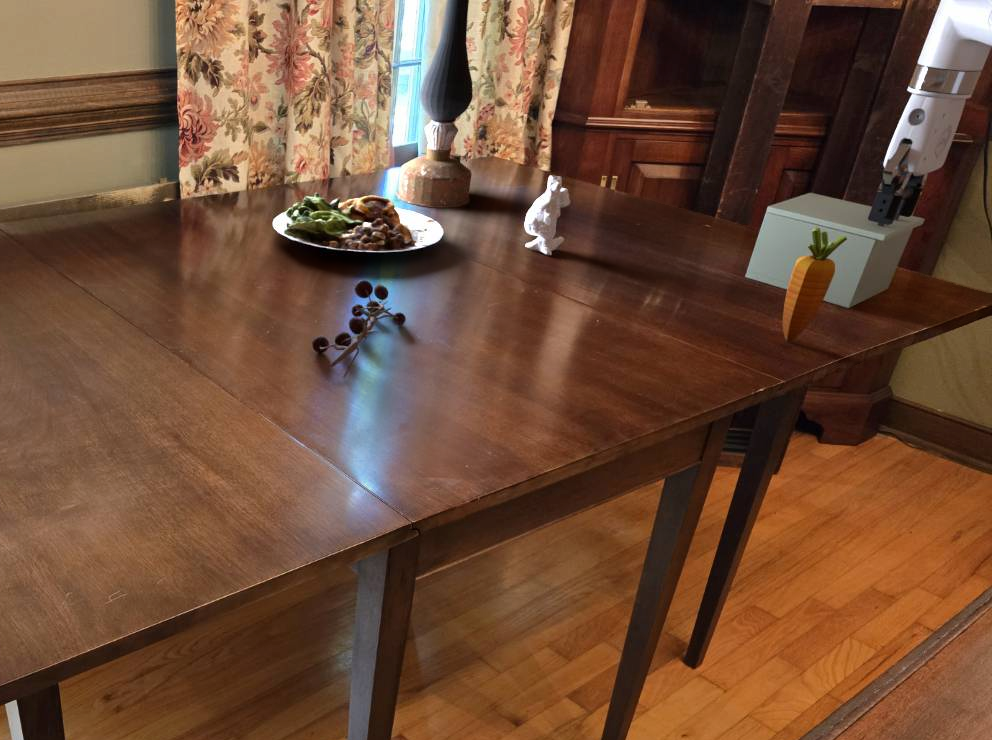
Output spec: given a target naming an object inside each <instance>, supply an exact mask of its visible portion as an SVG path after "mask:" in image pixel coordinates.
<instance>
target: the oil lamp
mask: <svg viewBox="0 0 992 740" xmlns="http://www.w3.org/2000/svg"><path fill="white" fill-rule="evenodd" d="M469 4H470V0H446V7H445V13H444V19H443V23H442V28H441V33H440V37H439V41H438V44H437V46H436V49H435V52H434V54H433V57H432V60H431V62H430V65H429V67H428V68H427V71H426V72H425V75H424V77H423V80H422V82H421V85H420V89H419V95H418V96H419V101H420V105H421V108H423V110H424V112H425V113H426V114H427V115H428V117H429V119H430V122H429V123H428V124H427V125H425V127H424V131H425V135H426V139H427V142H428V143H427V146H426V152H422V151H421V152H420V154H421V155H420V156H417V157H415V158H413V159H411V160H409V161H408V162H407V161H406V162H405V163H404V164H403V165H401V167H400V174H399V184H398V190H397V191H396V197H397V198H398V199H399V200H401V201H403V202H405V203H408V204H411V205H415V206H420V207H425V208H426V207H427V208H437V209H438V208H439V209H440V208H441V209H443V208H446V209H447V208H457V207H461V206H464V205H467V204H468V203H469V201H470V196H469V194H470V187H471V183H472V182H471V181H472V171H471V169H470V168H468V166H466V165H464V164H463V163H462V162H461V161H462V158H463V159H465V162H468V160H469V159H468V157H469V152H466V154H465V155H461V154H459V153H451V151H452V144H453V142H454V140H455V138H456V136H457V134H458V132H459V128H458V127H457V126H456V124H455V123H454V122H456V121H457V119H458V118H459V117H460V116H462V115H463V114H464V113H465V112H466V111H467V110H468V108H469V107H470V105H471V103H472V101H473V97H474V95H473V94H474V92H473V89H474V88H473V78H472V75H471V70H470V63H469V57H468V56H469V55H468V47H467V35H468V34H467V32H468V16H469V14H468V13H469Z"/></svg>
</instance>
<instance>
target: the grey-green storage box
mask: <svg viewBox="0 0 992 740" xmlns="http://www.w3.org/2000/svg"><path fill="white" fill-rule="evenodd" d="M815 228H820V231H821V233H822V232H827V236H828V244H830V243H831V242H833V243H834V242H835V240H837V239H838V238H839V237H841V236H842V235H844V236H846V238H847V240H846V241H845V242H843V243H842V244H841V245H840V246H838V247H837V248H836V249H835V250H834V251H833V252H832V253H831V254H830V255H829V256H828V257H827V258H828V259H831V260H832V261H834V263H835V273H834V276H833V278H832V281H831V283H830V286H829V288H828V290H827V293H826V295H825V297H824V299H823V302H827V303H829V304H834V305H836V306H839V307H842V308H846V309H850V308H852V307H854V306H856V305H858V304H860V303H861V302H862V303H863V302H864V301H866V300H869V299H870V298H873V297H874V296H876V295H878V294H881V293H882V292H884V291H887V290H888V289H889V287H890V285H891V282H892V280H893V278H894V276H895V273H896V271H897V268H898V265H899V263H900V261H901V258H902V256H903V253H904V251H905V249H906V246H907V244H908V242H909V239H910V236H911V235H912V232H913V229H914V228H912V229H910V230H908V231H905V232H903V233H901V234H898V235H896V236H894V237H891V238H889V239H887V240H884V241H882V240H878V239H874V238H870V237H866V236H862V235H858V234H854V233H850V232H846V231H842V230H838V229H834V228H830V227H826V226H822V225H818V224H814V223H810V222H806V221H801V220H797V219H793V218H789V217H785V216H781V215H777V214H773V213H769V212H766V211H765V214H764V217H763V221H762V224H761V227H760V229H759V231H758V236H757V238H756V241H755V245H754V248H753V251H752V254H751V257H750V260H749V263H748V266H747V269H746V274H745V276H744V277H745V278H747V279H750V280H754V281H757V282H759V283H764V284H767V285H770V286H773V287H776V288H780V289H783V290H787V289H788V286H789V282H790V279H791V276H792V273H793V270H794V267H795V264H796V261H797V260H798V258H800V257H802V256H806V255H813V254H812V252H811V251H810V249H809V248H808V245H809V244H812V245H814V244H813V237H812V231H813V230H814V229H815ZM821 246H822V236H821Z"/></svg>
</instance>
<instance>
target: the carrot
mask: <svg viewBox="0 0 992 740" xmlns="http://www.w3.org/2000/svg"><path fill="white" fill-rule="evenodd" d="M821 236H822V246H821ZM812 237H813V244H814V245H812V244H809V245H808V248H809V249H810V251H811V252H812V254H813V255H806V256H802V257H800V258H798V260H797V261H796V264H795V267H794V270H793V273H792V276H791V279H790V282H789V286H788V289H786V294H785V298H784V299H785V300H784V304H783V311H782V332H783V338H784V339H785V341H786V342H787V343H789V342H791V341H793V340H795V339H796V338H797V337H798V336H799V335H800V334H802V333H803V331H804V330H805V329H806V328H807V327H808V326H809V325H810V324H811V322H812V320H813V319H814V317H815V316H816V314H817V313H818V311H819V309H820V307H821V305H822V304H823V302H824V301H823V299H824V297H825V295H826V293H827V290H828V288H829V286H830V283H831V281H832V278H833V276H834V273H835V263H834V261H832V260H831V259H828V258H827V257H828V256H829V255H830V254H831V253H832V252H833V251H834V250H835V249H836V248H837V247H838V246H840V245H841V244H842V243H843V242H845V241H846V240H847V238H846V236H844V235H842V236H841V237H839V238H838V239H837V240H835V242H834V243H833V242H831V243H830V244H828V236H827V232H822V233H821V231H820V228H815V229H814V230H813V231H812Z"/></svg>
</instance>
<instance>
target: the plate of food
mask: <svg viewBox="0 0 992 740" xmlns="http://www.w3.org/2000/svg"><path fill="white" fill-rule="evenodd" d="M340 201H341V198H340V197H338V198H336V199H332V201H330V202H328V201H326V199H325V198H324V197H321V196H320V194H319V192H315V193H314V196H304V198H303V200H302V202H301V201H299V202H294V203H293V205H292V207H289V208H288V209H287V210H285V211H283V212H281V213H280V214H279V215H277V216H276V217H275V218H273V221H272V227H273V229H274V230H275V231H276V232H277V233H278V234H280V235H282V236H284V237H286V238H287V239H290V240H292V241H294V242H298V243H302V244H306V245H311V246H314V247H317V248H326V249H327V250H329V251H331V250H332V251H351V252H352V251H353V252H363V253H364V252H366V253H393V252H405V251H411V250H419V249H421V248H426V247H427V246H431V245H433V244H436V243H438V242H439V241H440V240H441V239H442V236H443V235H444V229H443V226H441V224H440V223H438V221H436V220H434V219H433V218H432V217H431V218H430V217H428V216H426V215H425V214H421V213H418V212H416V211H412V210H408V209H404V208H399V207H395V203H393V201H391V200H390V199H388V198H386V197H382V196H378V195H372V194H369V195H367V196H362V197H359V198H358V197H356V198H350V199H347V200H346V201H344V202H340Z"/></svg>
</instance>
